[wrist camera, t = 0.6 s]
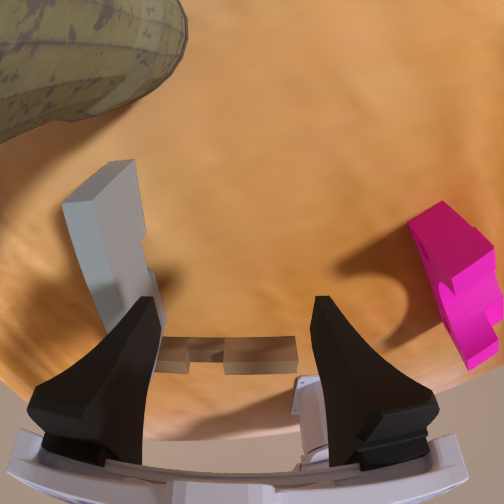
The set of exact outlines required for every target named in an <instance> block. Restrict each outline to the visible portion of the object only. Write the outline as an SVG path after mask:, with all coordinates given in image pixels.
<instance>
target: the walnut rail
mask: <svg viewBox="0 0 504 504" xmlns="http://www.w3.org/2000/svg"><path fill="white" fill-rule="evenodd" d="M190 362H223V365H224V373H225V375H257V374H285V373H296V372H297V366H298V354H297V347H296V341H295V336H290V337H260V338H186V337H162V340H161V344H160V348H159V353H158V357H157V361H156V366H155V370H154V372H160V373H177V374H188V373H189V365H190Z"/></svg>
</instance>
